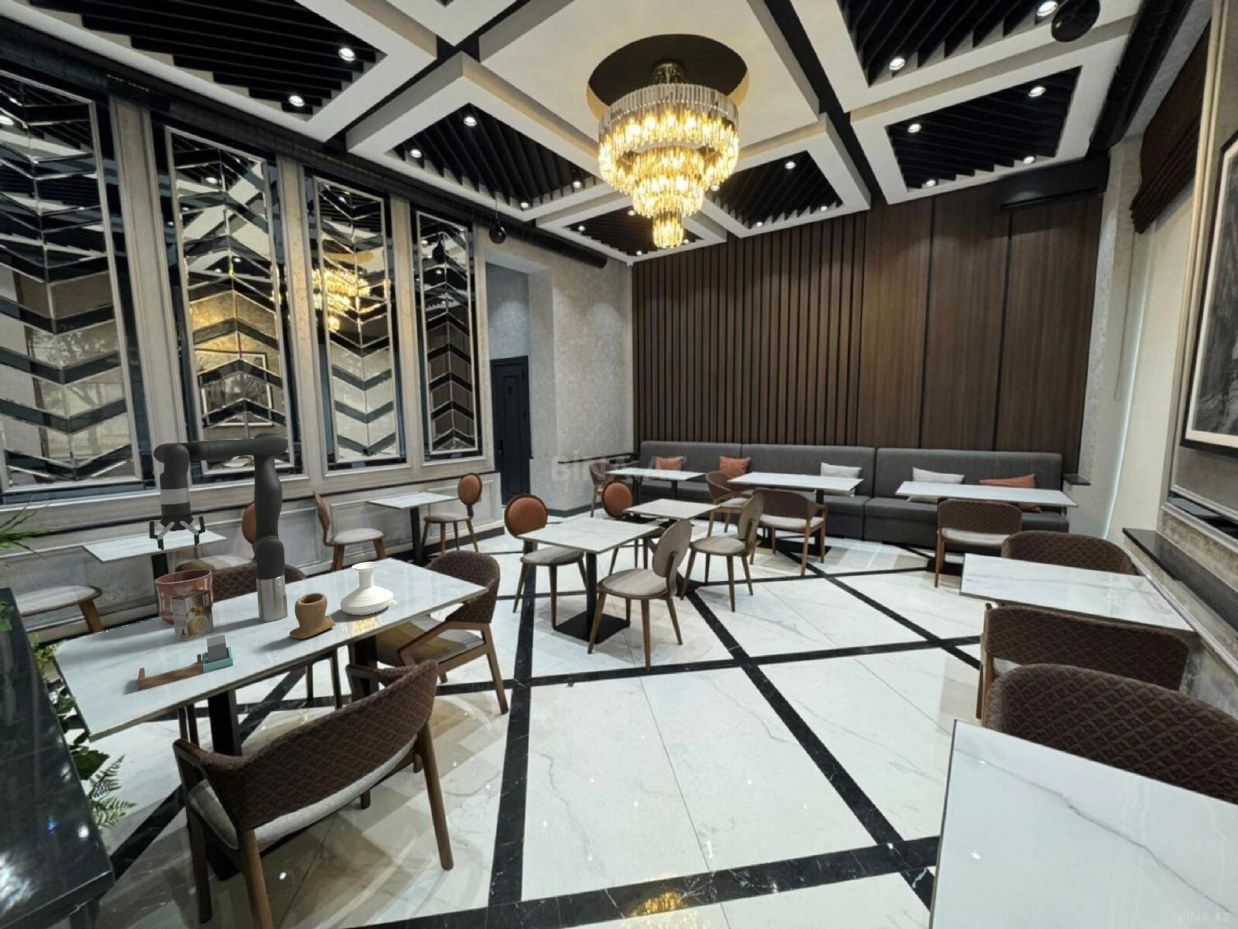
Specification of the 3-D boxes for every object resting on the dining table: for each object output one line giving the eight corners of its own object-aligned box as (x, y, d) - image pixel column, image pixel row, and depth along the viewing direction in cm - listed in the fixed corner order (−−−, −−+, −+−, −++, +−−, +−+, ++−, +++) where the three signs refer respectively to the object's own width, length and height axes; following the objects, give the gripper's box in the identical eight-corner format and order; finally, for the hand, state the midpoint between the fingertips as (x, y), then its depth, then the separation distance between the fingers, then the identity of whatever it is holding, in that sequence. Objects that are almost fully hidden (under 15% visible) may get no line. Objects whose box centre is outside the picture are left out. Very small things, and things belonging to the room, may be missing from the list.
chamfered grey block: (226, 654, 163) (224, 634, 162) (227, 663, 157) (225, 642, 156) (208, 658, 160) (206, 638, 159) (208, 667, 154) (207, 647, 153)
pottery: (148, 623, 190) (144, 579, 189) (202, 607, 206) (199, 566, 204) (170, 631, 183) (167, 585, 181) (224, 615, 199) (221, 572, 197)
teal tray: (230, 653, 165) (230, 646, 165) (233, 665, 157) (232, 658, 157) (202, 660, 160) (201, 653, 160) (203, 673, 152) (202, 665, 152)
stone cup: (304, 644, 172) (301, 603, 171) (285, 637, 177) (282, 598, 176) (344, 628, 185) (342, 590, 184) (325, 622, 191) (323, 585, 189)
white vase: (354, 623, 190) (351, 576, 188) (332, 611, 202) (329, 566, 200) (402, 608, 205) (400, 564, 204) (379, 597, 217) (378, 556, 216)
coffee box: (200, 629, 185) (197, 588, 183) (214, 630, 183) (211, 589, 182) (174, 639, 176) (170, 597, 174) (188, 641, 174) (184, 598, 173)
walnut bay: (201, 662, 159) (201, 653, 159) (202, 673, 152) (201, 664, 151) (140, 677, 149) (139, 668, 149) (138, 690, 142) (137, 681, 142)
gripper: (202, 498, 172) (206, 542, 174) (147, 502, 163) (151, 549, 164) (203, 500, 167) (206, 546, 168) (145, 505, 157) (150, 553, 159)
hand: (179, 547), depth 166 cm, fingers open, 8 cm apart
